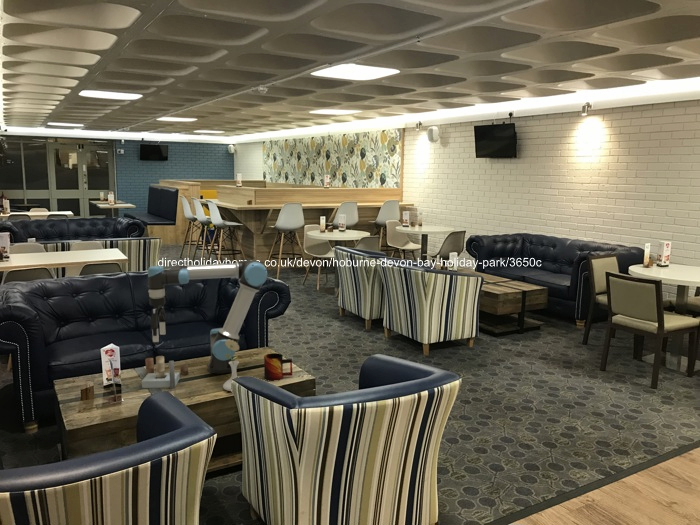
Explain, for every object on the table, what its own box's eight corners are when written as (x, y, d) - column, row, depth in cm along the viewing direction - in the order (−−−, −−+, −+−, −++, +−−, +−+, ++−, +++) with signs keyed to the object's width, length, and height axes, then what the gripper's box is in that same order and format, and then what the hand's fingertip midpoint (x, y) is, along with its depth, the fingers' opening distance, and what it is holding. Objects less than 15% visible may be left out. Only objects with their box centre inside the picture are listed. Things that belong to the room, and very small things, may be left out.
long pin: (166, 381, 288) (164, 355, 286) (164, 384, 284) (162, 358, 282) (158, 382, 288) (156, 355, 286) (156, 384, 284) (154, 358, 282)
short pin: (189, 373, 302) (188, 364, 301) (187, 375, 298) (187, 366, 297) (181, 373, 301) (181, 364, 301) (179, 375, 297) (179, 366, 297)
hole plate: (181, 378, 293) (180, 353, 291) (174, 389, 278) (173, 362, 276) (148, 379, 291) (147, 353, 289) (140, 390, 277) (138, 362, 275)
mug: (293, 377, 295) (292, 355, 293) (268, 382, 288) (268, 360, 286) (285, 372, 303) (284, 351, 302) (261, 376, 296) (261, 355, 294)
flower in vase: (250, 389, 278) (249, 340, 275) (231, 394, 271) (229, 345, 267) (236, 382, 288) (234, 335, 284) (216, 388, 280) (215, 339, 276)
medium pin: (155, 373, 300) (154, 357, 299) (153, 376, 296) (152, 360, 295) (147, 374, 300) (146, 358, 299) (145, 376, 296) (144, 360, 295)
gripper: (156, 292, 292) (158, 331, 295) (142, 302, 267) (144, 345, 270) (170, 292, 292) (172, 331, 295) (158, 302, 268) (160, 344, 271)
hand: (159, 338), depth 283 cm, fingers open, 13 cm apart
